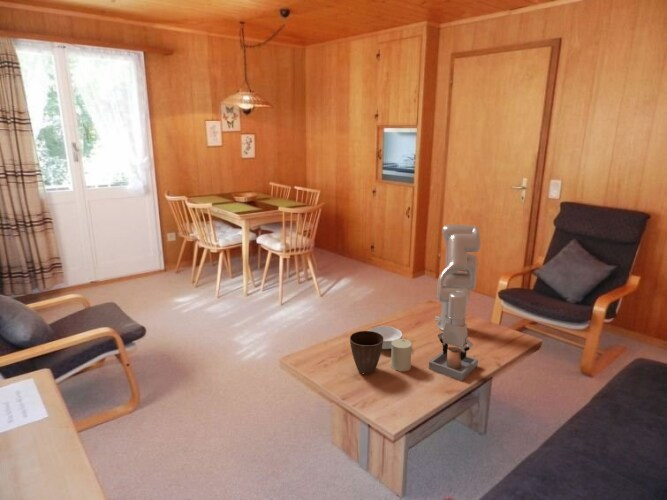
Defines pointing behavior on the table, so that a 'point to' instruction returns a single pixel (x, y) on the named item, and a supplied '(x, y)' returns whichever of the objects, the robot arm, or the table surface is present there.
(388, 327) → the cereal bowl
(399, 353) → the pillar candle
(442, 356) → the grey tray
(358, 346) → the plant pot
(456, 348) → the terracotta cup
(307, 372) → the table surface
